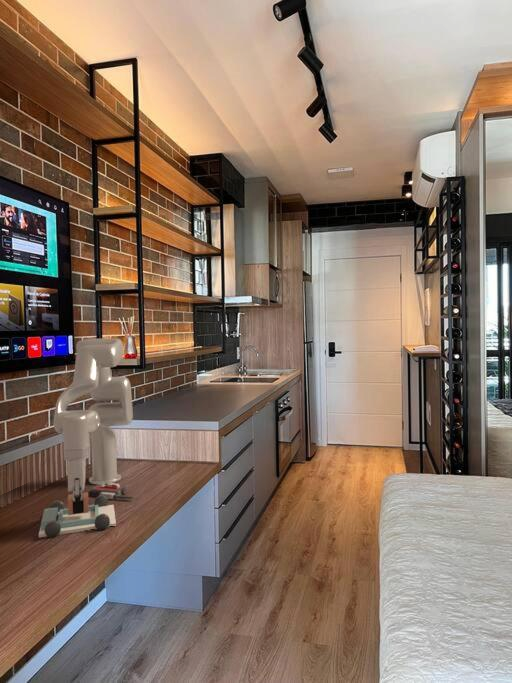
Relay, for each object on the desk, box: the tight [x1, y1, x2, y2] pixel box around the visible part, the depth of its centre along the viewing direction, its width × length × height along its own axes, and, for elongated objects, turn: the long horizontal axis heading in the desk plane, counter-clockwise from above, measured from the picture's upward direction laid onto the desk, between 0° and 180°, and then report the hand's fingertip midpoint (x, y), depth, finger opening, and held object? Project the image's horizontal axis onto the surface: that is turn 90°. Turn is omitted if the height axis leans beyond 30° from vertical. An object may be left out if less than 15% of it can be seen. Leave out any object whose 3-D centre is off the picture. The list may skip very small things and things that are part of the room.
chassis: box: [38, 495, 117, 539], centre depth 159 cm, size 21×22×4 cm
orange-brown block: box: [67, 491, 90, 515], centre depth 159 cm, size 5×6×5 cm
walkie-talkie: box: [87, 482, 134, 500], centre depth 183 cm, size 9×4×20 cm
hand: (78, 509), depth 159 cm, fingers closed on orange-brown block, 4 cm apart
